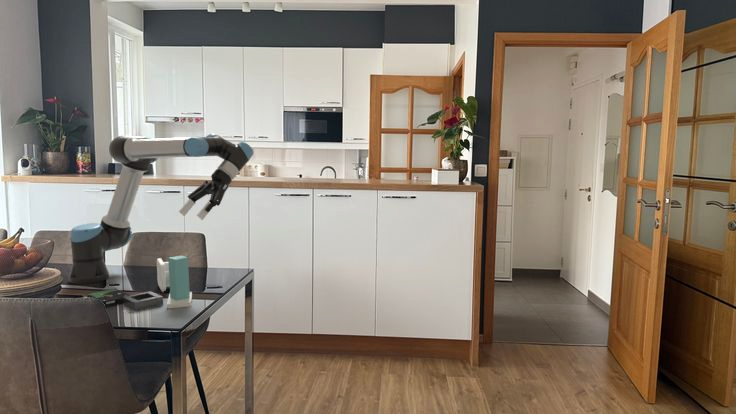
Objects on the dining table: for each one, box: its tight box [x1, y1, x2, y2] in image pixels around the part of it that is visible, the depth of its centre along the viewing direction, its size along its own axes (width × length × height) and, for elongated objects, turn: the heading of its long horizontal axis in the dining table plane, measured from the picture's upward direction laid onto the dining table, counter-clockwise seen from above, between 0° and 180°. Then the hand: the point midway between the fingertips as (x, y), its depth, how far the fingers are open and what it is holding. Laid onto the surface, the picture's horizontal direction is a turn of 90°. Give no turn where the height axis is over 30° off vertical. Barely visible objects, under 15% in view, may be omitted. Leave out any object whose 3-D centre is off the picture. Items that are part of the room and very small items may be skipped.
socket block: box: [122, 290, 164, 312], centre depth 187 cm, size 10×10×3 cm
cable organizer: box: [156, 257, 170, 293], centre depth 209 cm, size 15×11×12 cm
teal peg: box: [167, 255, 191, 300], centre depth 190 cm, size 5×5×15 cm
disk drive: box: [87, 288, 131, 308], centre depth 193 cm, size 10×3×15 cm
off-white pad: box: [166, 291, 193, 309], centre depth 191 cm, size 14×8×2 cm, turn 17°
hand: (190, 215), depth 197 cm, fingers open, 13 cm apart
